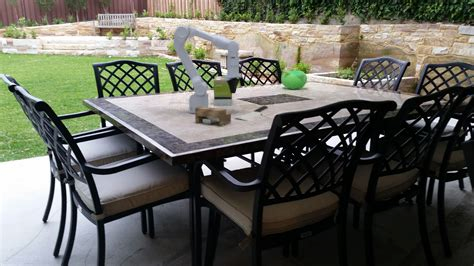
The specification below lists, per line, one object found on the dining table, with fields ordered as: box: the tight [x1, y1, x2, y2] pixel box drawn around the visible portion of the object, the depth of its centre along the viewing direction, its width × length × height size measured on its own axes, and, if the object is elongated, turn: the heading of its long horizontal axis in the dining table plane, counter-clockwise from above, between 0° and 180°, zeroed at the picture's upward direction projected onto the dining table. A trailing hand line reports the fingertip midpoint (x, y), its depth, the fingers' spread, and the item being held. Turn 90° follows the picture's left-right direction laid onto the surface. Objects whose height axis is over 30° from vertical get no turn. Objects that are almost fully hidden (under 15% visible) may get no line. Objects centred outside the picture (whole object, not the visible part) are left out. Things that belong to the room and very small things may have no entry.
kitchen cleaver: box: [235, 105, 269, 122], centre depth 197 cm, size 31×2×10 cm
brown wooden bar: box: [202, 117, 219, 125], centre depth 183 cm, size 4×14×2 cm, turn 155°
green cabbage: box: [280, 67, 308, 90], centre depth 275 cm, size 18×17×15 cm
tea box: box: [213, 75, 233, 107], centre depth 222 cm, size 15×10×15 cm
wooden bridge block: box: [194, 106, 232, 127], centre depth 178 cm, size 14×8×7 cm, turn 61°
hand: (233, 93), depth 198 cm, fingers closed
